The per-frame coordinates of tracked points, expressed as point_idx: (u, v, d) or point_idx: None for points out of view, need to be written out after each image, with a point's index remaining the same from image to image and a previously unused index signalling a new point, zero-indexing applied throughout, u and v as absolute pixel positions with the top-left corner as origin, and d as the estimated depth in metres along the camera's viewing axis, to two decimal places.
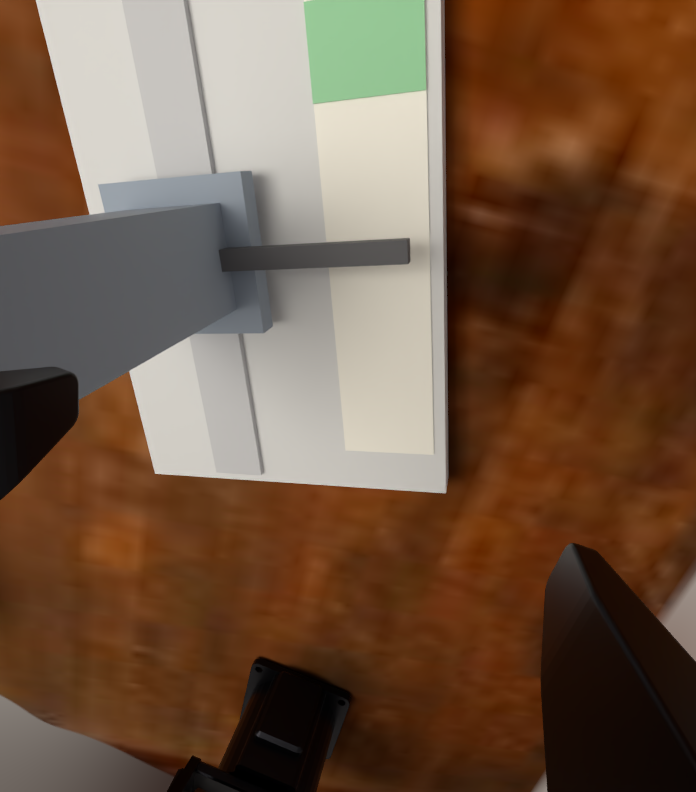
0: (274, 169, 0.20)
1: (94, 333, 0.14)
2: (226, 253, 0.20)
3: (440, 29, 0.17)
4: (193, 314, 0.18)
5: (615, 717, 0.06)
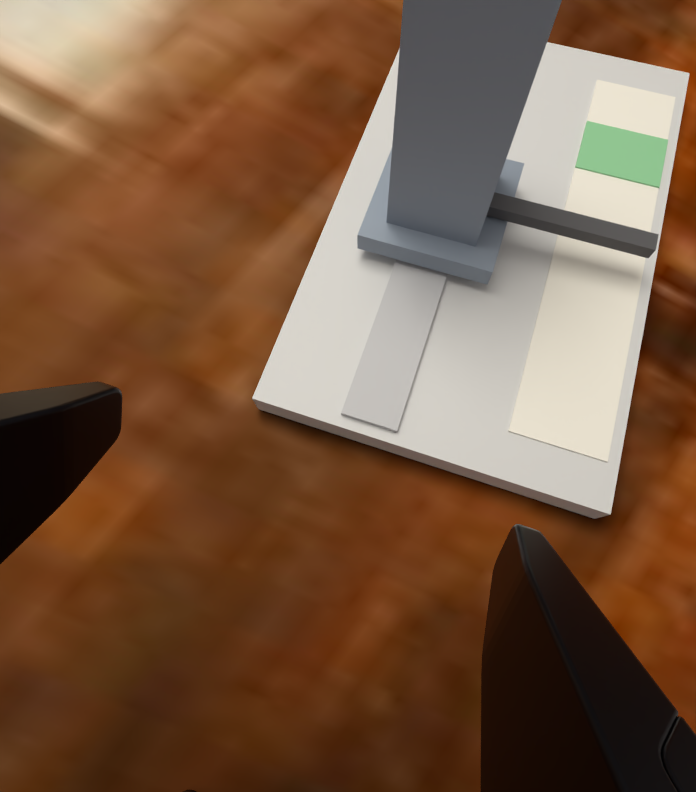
0: (528, 192, 0.26)
1: None
2: (498, 196, 0.23)
3: (671, 166, 0.26)
4: None
5: (536, 688, 0.06)
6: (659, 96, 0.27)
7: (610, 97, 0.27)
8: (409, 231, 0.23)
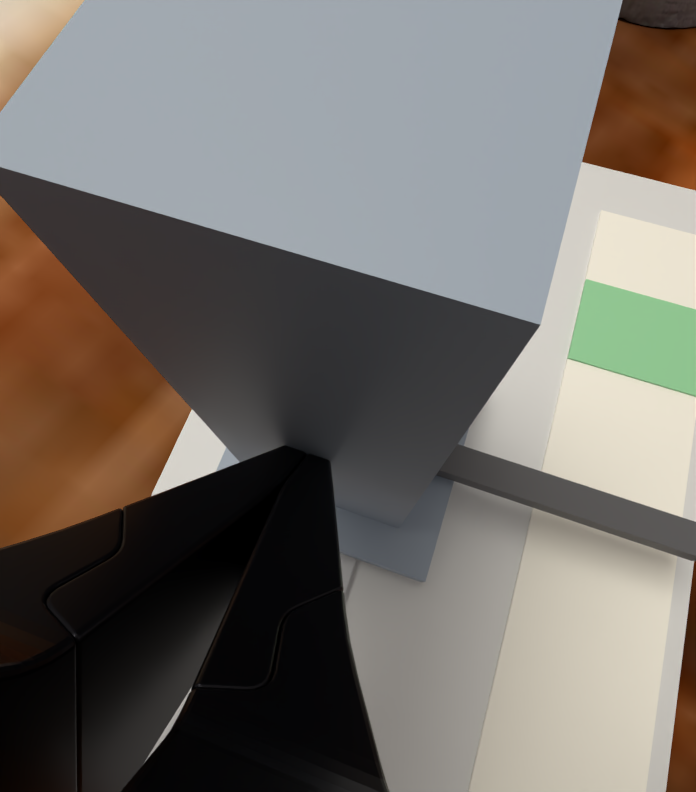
0: (494, 399, 0.16)
1: None
2: None
3: None
4: None
5: None
6: (694, 237, 0.18)
7: (621, 239, 0.18)
8: None
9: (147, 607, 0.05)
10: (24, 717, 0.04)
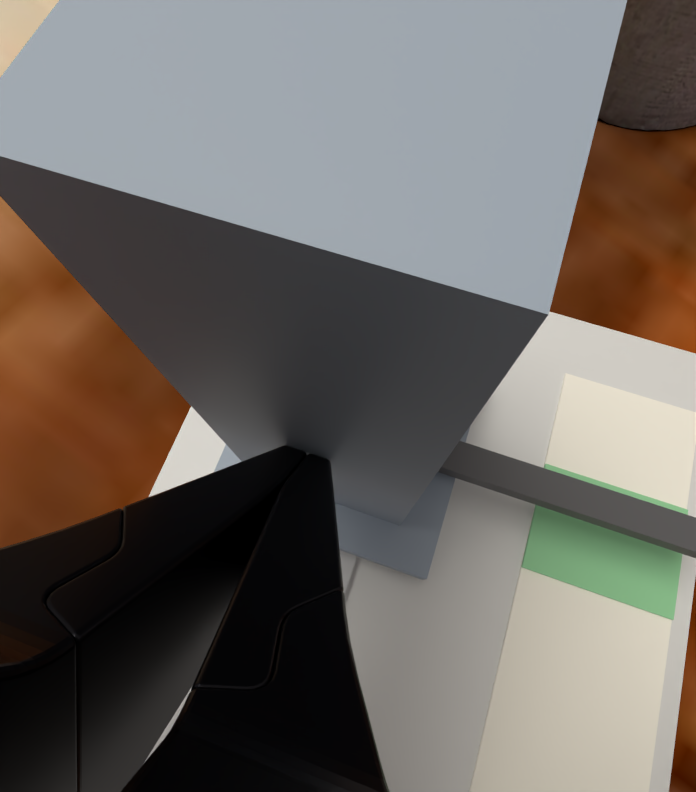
0: (435, 619, 0.14)
1: None
2: None
3: (694, 562, 0.15)
4: None
5: None
6: (671, 408, 0.16)
7: (588, 411, 0.16)
8: None
9: (147, 607, 0.05)
10: (24, 717, 0.04)
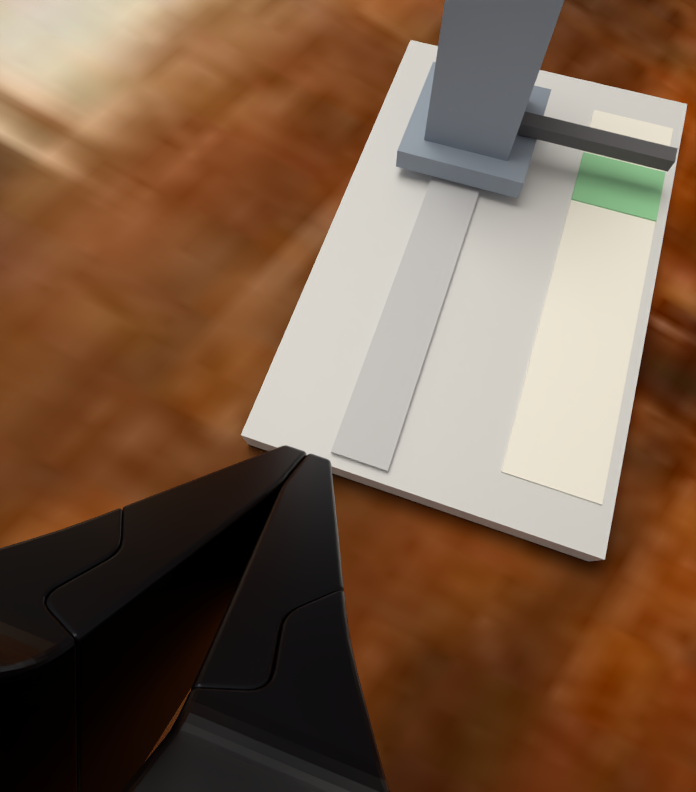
0: (524, 224, 0.25)
1: None
2: (528, 114, 0.25)
3: (668, 199, 0.26)
4: None
5: None
6: (656, 127, 0.27)
7: (607, 128, 0.27)
8: (445, 148, 0.25)
9: (147, 607, 0.05)
10: (24, 717, 0.04)
